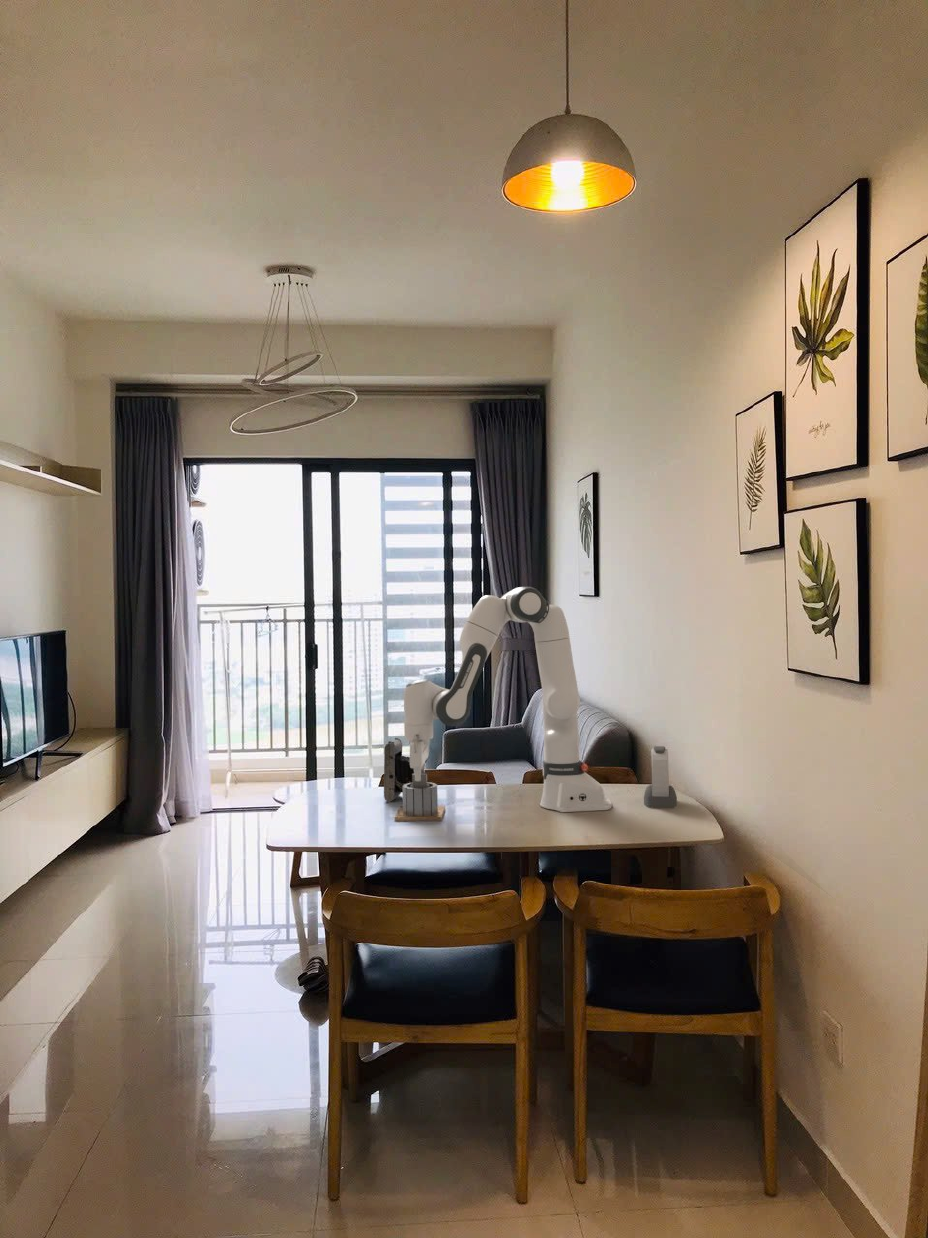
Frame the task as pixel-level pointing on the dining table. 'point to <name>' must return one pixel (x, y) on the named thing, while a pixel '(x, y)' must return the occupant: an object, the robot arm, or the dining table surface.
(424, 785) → the rotary knob
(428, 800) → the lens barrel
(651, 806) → the grey piece
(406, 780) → the vintage camera
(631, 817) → the dining table surface
